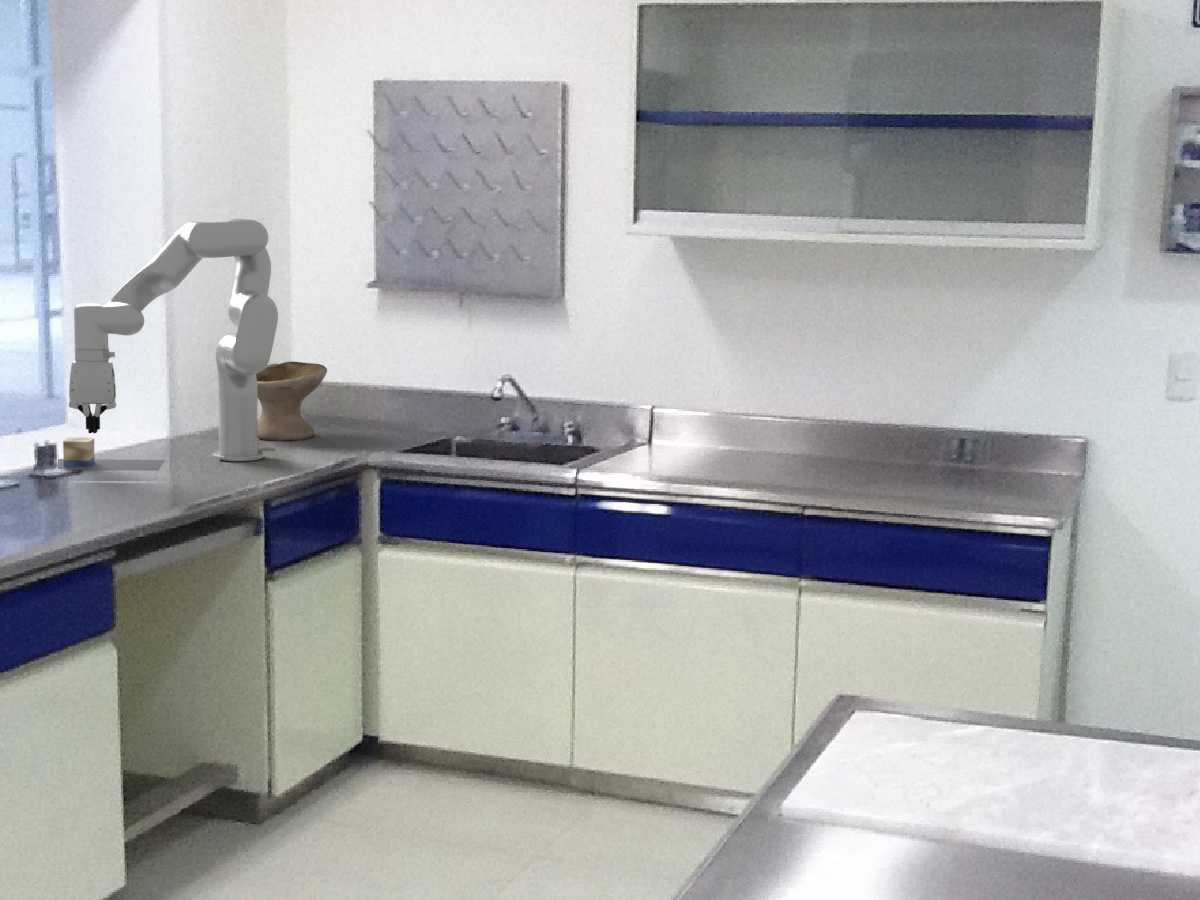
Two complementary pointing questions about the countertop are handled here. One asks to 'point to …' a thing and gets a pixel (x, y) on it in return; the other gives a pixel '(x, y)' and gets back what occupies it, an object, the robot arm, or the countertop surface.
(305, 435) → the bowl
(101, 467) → the mat
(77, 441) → the cube
